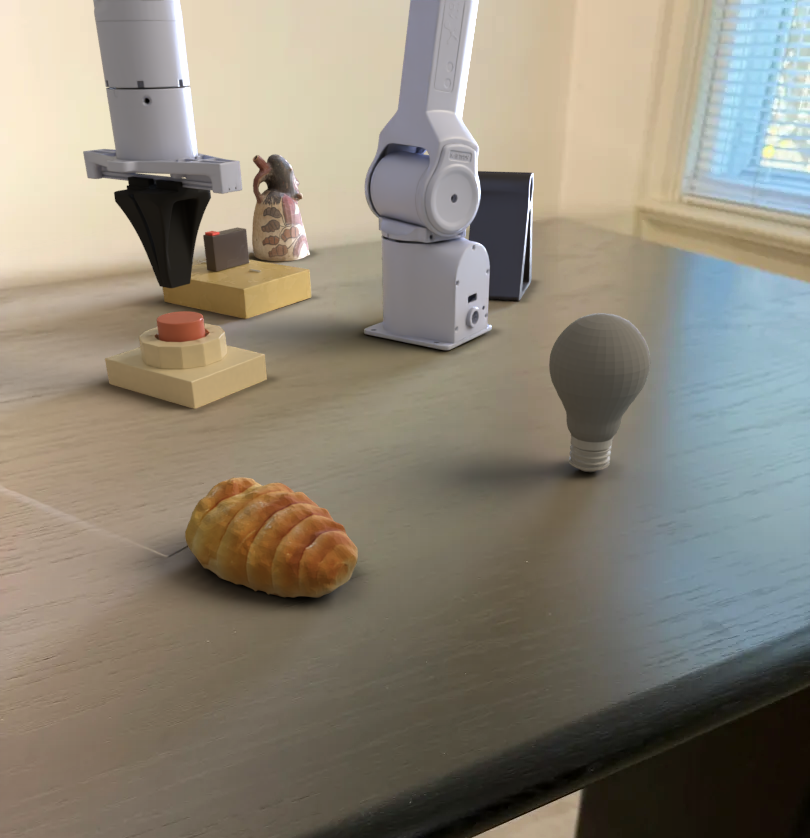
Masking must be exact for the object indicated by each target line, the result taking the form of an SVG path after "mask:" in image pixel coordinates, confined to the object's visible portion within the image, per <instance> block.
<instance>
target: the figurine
mask: <svg viewBox="0 0 810 838" xmlns="http://www.w3.org/2000/svg"><path fill="white" fill-rule="evenodd" d="M252 162H253V164H255V166H256V167H257V168H258V169H259V170H258V172H257V173H256V174H255V176H254V178H253V180H252V192H253V194H254V197H255V199H256V202H255V207H254V211H253V216H252V233H251V243H252V244H251V245H252V252H253V255H254V258H256V259H258V260H261V261H265V262H290V261H298V260H301V259H303V258H306V257H307V256H310V255H311V253H310V249H309V242H308V239H307V234H306V230H305V226H304V222H303V218H302V213H301V209H300V207H299V201H300V200H303V193H301V192H300V190H299V186H300V181H299V179H298V178H297V177H296V176H295V171H294V168H293V166H292V165H291V163H289V162H288V160H287V159H286V158H285V157H284V156H282V155H280V154H276V153H274V154H271V155H269V156H268V157H267V159H266V160H265V159H264V158H263V157H262V156H260V154H256V155H255V156H253V157H252ZM262 183H265V185H266V186H267V188H266V189H265V190H264V191H263V192H262V193H261V192H260V185H261V184H262Z"/></svg>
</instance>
